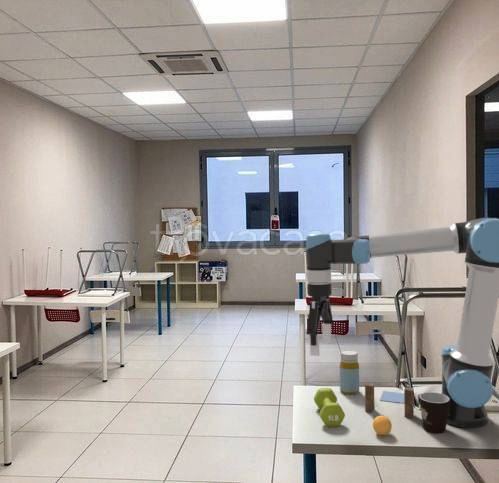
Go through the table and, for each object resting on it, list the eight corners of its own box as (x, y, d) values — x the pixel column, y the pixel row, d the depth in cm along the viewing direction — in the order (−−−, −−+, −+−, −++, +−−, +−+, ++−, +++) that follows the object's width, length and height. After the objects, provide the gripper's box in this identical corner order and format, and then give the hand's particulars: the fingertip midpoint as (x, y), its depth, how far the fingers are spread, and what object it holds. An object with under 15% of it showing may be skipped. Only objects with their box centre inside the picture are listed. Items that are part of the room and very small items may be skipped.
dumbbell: (346, 428, 153) (345, 405, 152) (320, 428, 153) (320, 406, 152) (336, 406, 169) (336, 386, 168) (313, 407, 169) (313, 387, 168)
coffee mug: (452, 436, 145) (452, 403, 144) (421, 435, 146) (421, 402, 146) (444, 419, 156) (444, 389, 155) (415, 418, 158) (415, 388, 157)
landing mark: (408, 394, 177) (408, 393, 177) (406, 403, 169) (406, 403, 169) (383, 391, 181) (383, 390, 181) (379, 400, 173) (379, 400, 173)
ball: (392, 431, 149) (392, 414, 149) (390, 439, 144) (390, 421, 144) (374, 428, 151) (374, 411, 151) (371, 436, 146) (371, 418, 146)
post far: (374, 409, 165) (374, 383, 165) (373, 412, 163) (372, 386, 162) (366, 408, 166) (366, 382, 166) (365, 411, 164) (365, 385, 163)
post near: (413, 414, 160) (413, 387, 160) (412, 417, 158) (412, 390, 157) (405, 413, 161) (405, 386, 161) (404, 416, 159) (404, 389, 158)
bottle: (351, 397, 176) (350, 356, 175) (336, 391, 182) (335, 352, 181) (363, 392, 181) (362, 352, 180) (348, 387, 186) (347, 348, 185)
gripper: (319, 276, 167) (320, 338, 168) (294, 288, 144) (297, 359, 145) (340, 277, 163) (342, 339, 165) (319, 289, 141) (321, 362, 142)
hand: (321, 349), depth 155 cm, fingers open, 13 cm apart
